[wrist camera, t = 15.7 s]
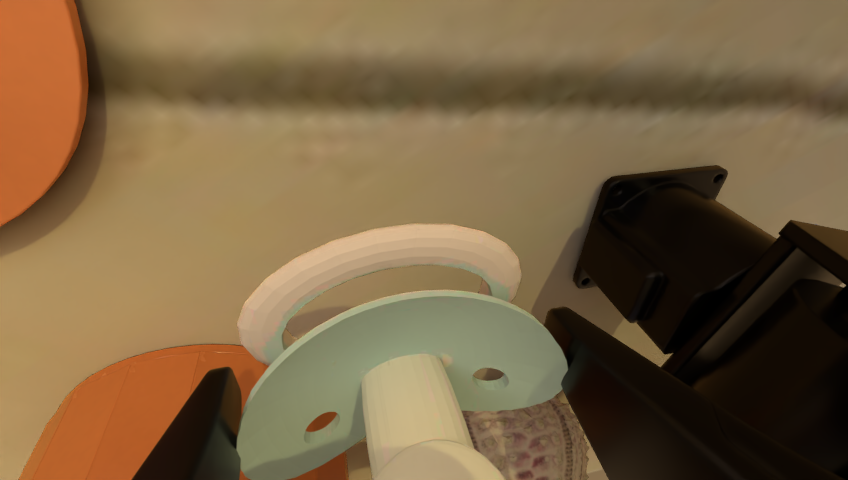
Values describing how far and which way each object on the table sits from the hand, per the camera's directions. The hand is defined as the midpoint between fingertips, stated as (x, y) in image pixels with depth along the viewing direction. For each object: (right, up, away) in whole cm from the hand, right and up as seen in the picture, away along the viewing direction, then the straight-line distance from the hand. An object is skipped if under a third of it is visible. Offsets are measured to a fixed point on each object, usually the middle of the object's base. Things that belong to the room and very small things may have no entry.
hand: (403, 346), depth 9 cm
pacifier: (0, +1, +1) cm, 1 cm away
